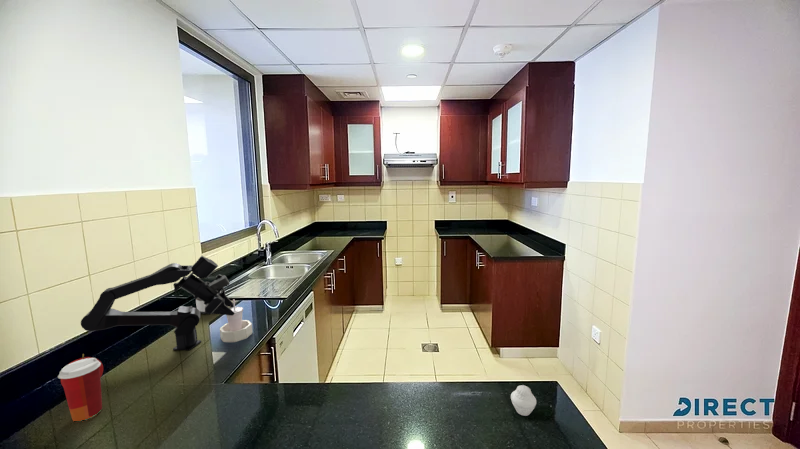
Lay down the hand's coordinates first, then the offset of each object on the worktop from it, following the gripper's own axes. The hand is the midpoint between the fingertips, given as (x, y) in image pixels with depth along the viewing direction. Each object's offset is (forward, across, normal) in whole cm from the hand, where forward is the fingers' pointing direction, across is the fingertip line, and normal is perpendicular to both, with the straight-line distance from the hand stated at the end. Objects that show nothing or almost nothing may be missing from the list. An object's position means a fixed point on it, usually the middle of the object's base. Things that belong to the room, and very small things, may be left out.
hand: (233, 310), depth 123 cm
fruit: (-21, -13, +36) cm, 44 cm away
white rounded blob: (+54, -84, -38) cm, 107 cm away
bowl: (+8, 0, +7) cm, 11 cm away
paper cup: (-17, -30, +32) cm, 47 cm away
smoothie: (+7, 0, +7) cm, 10 cm away
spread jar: (0, +36, +15) cm, 39 cm away
